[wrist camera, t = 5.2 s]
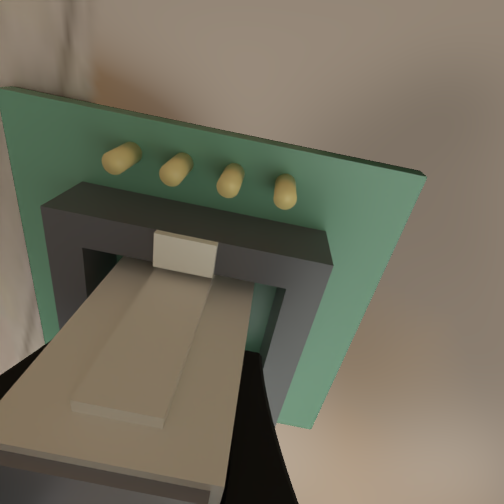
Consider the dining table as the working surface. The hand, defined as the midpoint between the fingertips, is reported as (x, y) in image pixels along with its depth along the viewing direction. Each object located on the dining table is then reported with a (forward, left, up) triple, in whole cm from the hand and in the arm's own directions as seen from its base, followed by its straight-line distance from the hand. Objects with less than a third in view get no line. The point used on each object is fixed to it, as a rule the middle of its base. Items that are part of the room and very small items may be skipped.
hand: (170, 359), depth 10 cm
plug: (0, 0, -2) cm, 2 cm away
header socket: (0, 0, -3) cm, 3 cm away
